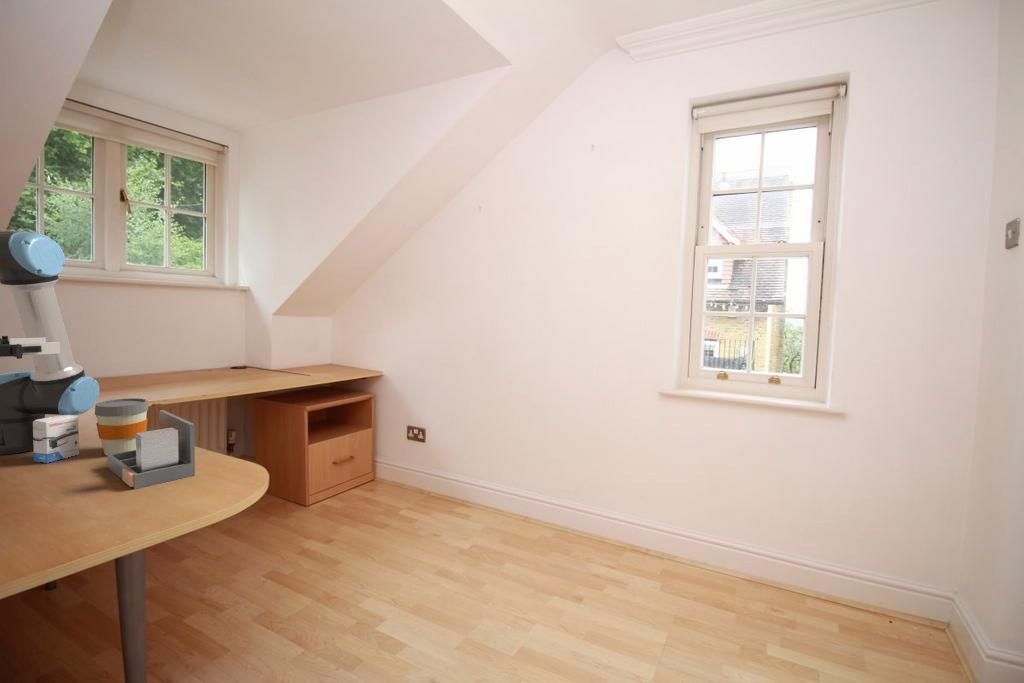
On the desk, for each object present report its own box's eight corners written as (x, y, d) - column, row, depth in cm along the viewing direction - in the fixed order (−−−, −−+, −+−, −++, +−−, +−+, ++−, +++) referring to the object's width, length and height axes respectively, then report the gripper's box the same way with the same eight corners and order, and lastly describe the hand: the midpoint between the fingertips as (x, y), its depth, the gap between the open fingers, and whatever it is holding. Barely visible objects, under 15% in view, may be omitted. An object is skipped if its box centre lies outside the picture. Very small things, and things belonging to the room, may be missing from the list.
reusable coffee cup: (116, 459, 137) (115, 408, 136) (85, 454, 140) (83, 404, 139) (159, 447, 149) (158, 400, 148) (129, 443, 152) (128, 396, 151)
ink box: (46, 464, 132) (45, 422, 131) (32, 462, 133) (31, 420, 132) (80, 454, 140) (79, 415, 139) (67, 453, 141) (65, 413, 140)
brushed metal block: (136, 478, 123) (135, 433, 122) (172, 470, 129) (172, 427, 128) (142, 482, 120) (141, 436, 119) (178, 474, 127) (178, 430, 126)
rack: (104, 468, 130) (103, 417, 129) (164, 456, 141) (163, 410, 140) (131, 489, 117) (130, 433, 116) (194, 475, 128) (194, 424, 127)
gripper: (-87, 361, 110) (41, 354, 127) (-76, 375, 96) (66, 365, 113) (-89, 329, 109) (39, 326, 127) (-79, 338, 95) (64, 334, 112)
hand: (52, 345), depth 120 cm, fingers open, 13 cm apart
